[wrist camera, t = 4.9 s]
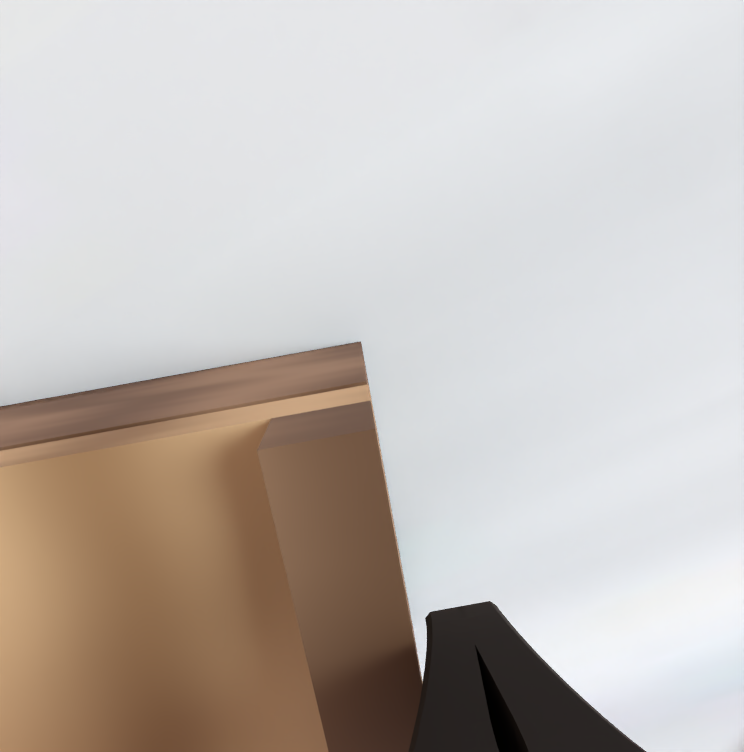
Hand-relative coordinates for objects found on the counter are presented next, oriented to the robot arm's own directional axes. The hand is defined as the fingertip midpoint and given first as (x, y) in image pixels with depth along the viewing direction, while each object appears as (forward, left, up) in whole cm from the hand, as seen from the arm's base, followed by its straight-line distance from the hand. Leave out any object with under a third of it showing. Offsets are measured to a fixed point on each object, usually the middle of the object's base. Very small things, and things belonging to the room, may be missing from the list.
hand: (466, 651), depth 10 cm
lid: (-6, +3, -2) cm, 7 cm away
